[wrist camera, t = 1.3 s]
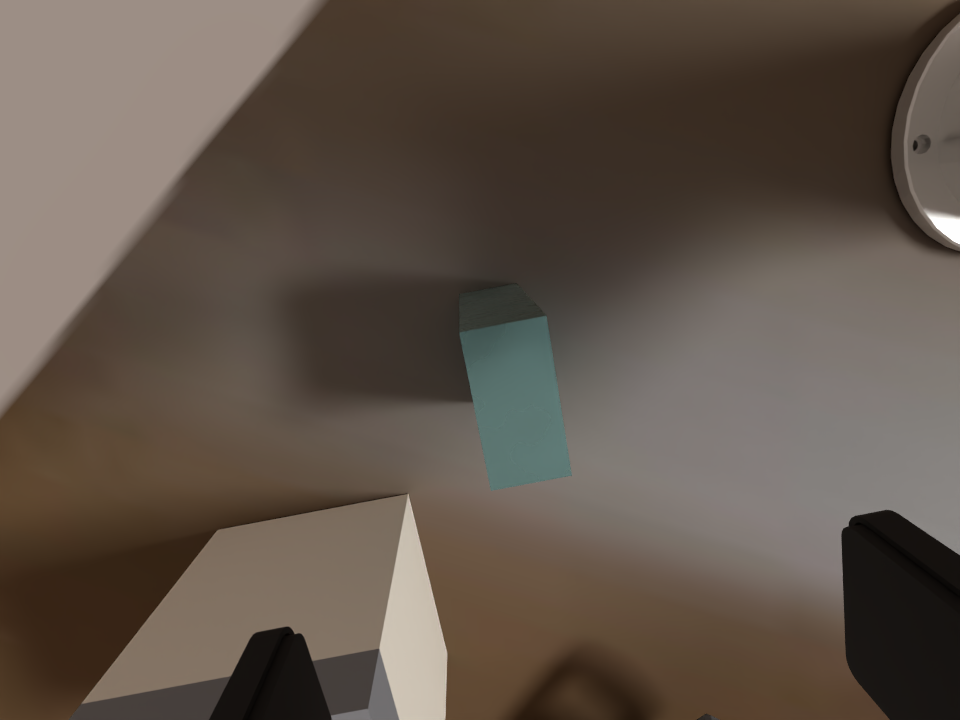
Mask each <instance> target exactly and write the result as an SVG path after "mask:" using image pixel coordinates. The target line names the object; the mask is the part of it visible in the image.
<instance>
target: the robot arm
mask: <svg viewBox="0 0 960 720" xmlns="http://www.w3.org/2000/svg"><path fill="white" fill-rule="evenodd" d="M891 161H892V168H893V176H894V181H895V184H896V187H897V190H898V193H899V196H900V199H901V201H902V203H903V205H904V207H905V208H906V210H907V211H908V213H909V215H910V216H911V218H912V220H913V221H914V222H915V223H916V224H917V225H918V226H919V227H920V228H921V229H922V230H923V231H924V232H925V233H926V234H927V235H928V236H929V237H931V238H933V239H934V240H936V241H937V242H939V243H941V244H942V245H944V246H946V247H948V248H951V249H954V250H957V251H960V14H959V15H957V16H956V17H955V18H954V19H953V20H952V21H951V22H950V23H949V24H947V25H946V26H945V27H944V28H943V29H942V30H941V31H940V32H939V34H938V35H937V36H936V37H935V38H934V40H933V41H932V42H931V43H930V45H929V46H928V47H927V48H926V49H925V51H924V52H923V53H922V55H921V57H920V59H919V60H918V62H917V64H916V65H915V67H914V69H913V70H912V72H911V74H910V76H909V77H908V80H907V82H906V85H905V87H904V90H903V92H902V95H901V97H900V100H899V102H898V106H897V110H896V115H895V119H894V124H893V128H892V142H891ZM842 563H843V591H844V618H845V646H846V659H847V663H848V666H849V668H850V670H851V672H852V674H853V676H854V677H855V679H856V680H857V681H858V683H859V684H860V685H861V686H862V688H863V689H864V690H865V691H866V692H867V693H868V695H869V696H870V697H871V698H872V699H873V700H874V702H875V703H876V704H877V705H878V706H879V707H880V709H881V710H882V711H883V712H884V713H885V714H886V716H887V717H888V718H889V719H890V720H960V555H958V554H957V553H955V552H954V551H952V550H951V549H949V548H948V547H946V546H945V545H944V544H942V543H941V542H939V541H938V540H936V539H935V538H933V537H932V536H930V535H929V534H927V533H926V532H924V531H923V530H921V529H920V528H918V527H917V526H915V525H914V524H912V523H911V522H909V521H908V520H906V519H905V518H904V517H902V516H901V515H899V514H898V513H896V512H894V511H891V510H884V511H879V512H874V513H868V514H863V515H858V516H854V517H852V518H851V520H850V521H849V527H846V528H844V529H843V531H842ZM209 720H332V718H331V715H330V712H329V709H328V706H327V703H326V700H325V697H324V694H323V691H322V688H321V685H320V682H319V679H318V676H317V673H316V670H315V667H314V664H313V662H312V659H311V656H310V653H309V650H308V647H307V644H306V641H305V638H304V636H303V635H302V634H301V633H297V634H294V632H293V630H292V629H291V628H290V627H287V626H286V627H281V628H276V629H271V630H265V631H260V632H256V633H254V634H253V635H252V637H251V638H250V640H249V642H248V644H247V646H246V647H245V649H244V651H243V653H242V655H241V657H240V659H239V661H238V663H237V665H236V667H235V669H234V671H233V673H232V675H231V677H230V679H229V681H228V683H227V685H226V687H225V689H224V691H223V693H222V695H221V697H220V699H219V701H218V703H217V705H216V707H215V708H214V710H213V712H212V714H211V716H210V718H209Z"/></svg>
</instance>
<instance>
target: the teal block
mask: <svg viewBox="0 0 960 720" xmlns="http://www.w3.org/2000/svg"><path fill="white" fill-rule="evenodd" d="M459 334H460V339H461V344H462V349H463V354H464V359H465V364H466V369H467V374H468V379H469V384H470V389H471V394H472V399H473V404H474V409H475V414H476V419H477V424H478V429H479V434H480V439H481V444H482V449H483V454H484V458H485V463H486V468H487V473H488V478H489V483H490V488H491V491H492V490H497V489H503V488H508V487H513V486H519V485H524V484H529V483H534V482H540V481H545V480H550V479H556V478H561V477H566V476H572V474H571V467H570V461H569V455H568V449H567V442H566V436H565V430H564V423H563V417H562V411H561V405H560V398H559V392H558V386H557V379H556V373H555V367H554V360H553V354H552V348H551V342H550V335H549V329H548V323H547V316H546V315H545V314H544V313H543V312H542V310H541V309H540V308H539V307H538V306H537V305H536V304H535V303H534V302H533V301H532V300H531V299H530V297H529V296H528V295H527V294H526V293H525V292H524V291H523V290H522V289H521V288H520V287H519V286H518V284H517V283H515V284H510V285H505V286H500V287H494V288H489V289H484V290H479V291H474V292H468V293H463V294H459Z"/></svg>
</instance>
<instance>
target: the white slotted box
mask: <svg viewBox="0 0 960 720" xmlns="http://www.w3.org/2000/svg"><path fill="white" fill-rule="evenodd" d="M286 626H287V627H290V628H291V629H292V630H293V632H294V634H297V633H301V634H302V635H303V636H304V638H305V641H306V644H307V647H308V650H309V653H310V656H311V659H312V662H313V664H314V667H315V670H316V673H317V676H318V679H319V682H320V685H321V688H322V691H323V694H324V697H325V700H326V703H327V706H328V709H329V712H330V715H331V718H332V720H445V714H446V678H447V651H446V646H445V642H444V638H443V634H442V630H441V626H440V622H439V618H438V614H437V610H436V605H435V601H434V597H433V593H432V589H431V585H430V581H429V577H428V573H427V569H426V564H425V560H424V556H423V552H422V548H421V544H420V540H419V536H418V532H417V528H416V523H415V519H414V515H413V511H412V507H411V503H410V499H409V495H408V494H405V495H400V496H394V497H389V498H384V499H378V500H373V501H368V502H363V503H357V504H352V505H347V506H341V507H336V508H331V509H325V510H320V511H315V512H310V513H304V514H299V515H294V516H288V517H283V518H278V519H273V520H267V521H262V522H257V523H251V524H246V525H241V526H235V527H230V528H225V529H220V530H217V531H216V533H215V534H214V535H213V536H212V538H211V539H210V540H209V541H208V543H207V544H206V545H205V547H204V548H203V549H202V550H201V552H200V553H199V554H198V555H197V557H196V558H195V559H194V561H193V562H192V563H191V564H190V566H189V567H188V568H187V570H186V571H185V572H184V573H183V575H182V576H181V577H180V578H179V580H178V581H177V582H176V584H175V585H174V586H173V587H172V589H171V590H170V591H169V592H168V594H167V595H166V596H165V598H164V599H163V600H162V601H161V603H160V604H159V605H158V607H157V608H156V609H155V610H154V612H153V613H152V614H151V615H150V617H149V618H148V619H147V621H146V622H145V623H144V624H143V626H142V627H141V628H140V629H139V631H138V632H137V633H136V635H135V636H134V637H133V638H132V640H131V641H130V642H129V644H128V645H127V646H126V647H125V649H124V650H123V651H122V652H121V654H120V655H119V656H118V658H117V659H116V660H115V661H114V663H113V664H112V665H111V666H110V668H109V669H108V670H107V672H106V673H105V674H104V675H103V677H102V678H101V679H100V681H99V682H98V683H97V684H96V686H95V687H94V688H93V689H92V691H91V692H90V693H89V695H88V696H87V697H86V698H85V700H84V701H83V702H82V703H81V705H80V706H79V707H78V709H77V710H76V711H75V712H74V714H73V715H72V716H71V718H70V719H69V720H209V718H210V716H211V714H212V712H213V710H214V708H215V707H216V705H217V703H218V701H219V699H220V697H221V695H222V693H223V691H224V689H225V687H226V685H227V683H228V681H229V679H230V677H231V675H232V673H233V671H234V669H235V667H236V665H237V663H238V661H239V659H240V657H241V655H242V653H243V651H244V649H245V647H246V646H247V644H248V642H249V640H250V638H251V637H252V635H253V634H254V633H256V632H260V631H265V630H271V629H276V628H281V627H286Z"/></svg>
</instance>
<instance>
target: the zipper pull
mask: <svg viewBox="0 0 960 720" xmlns="http://www.w3.org/2000/svg"><path fill="white" fill-rule="evenodd" d="M697 720H719V719H717V718H715V717H713V716H711V715H708V714H705V715H703V716H702V717H700V718H699V719H697Z"/></svg>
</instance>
